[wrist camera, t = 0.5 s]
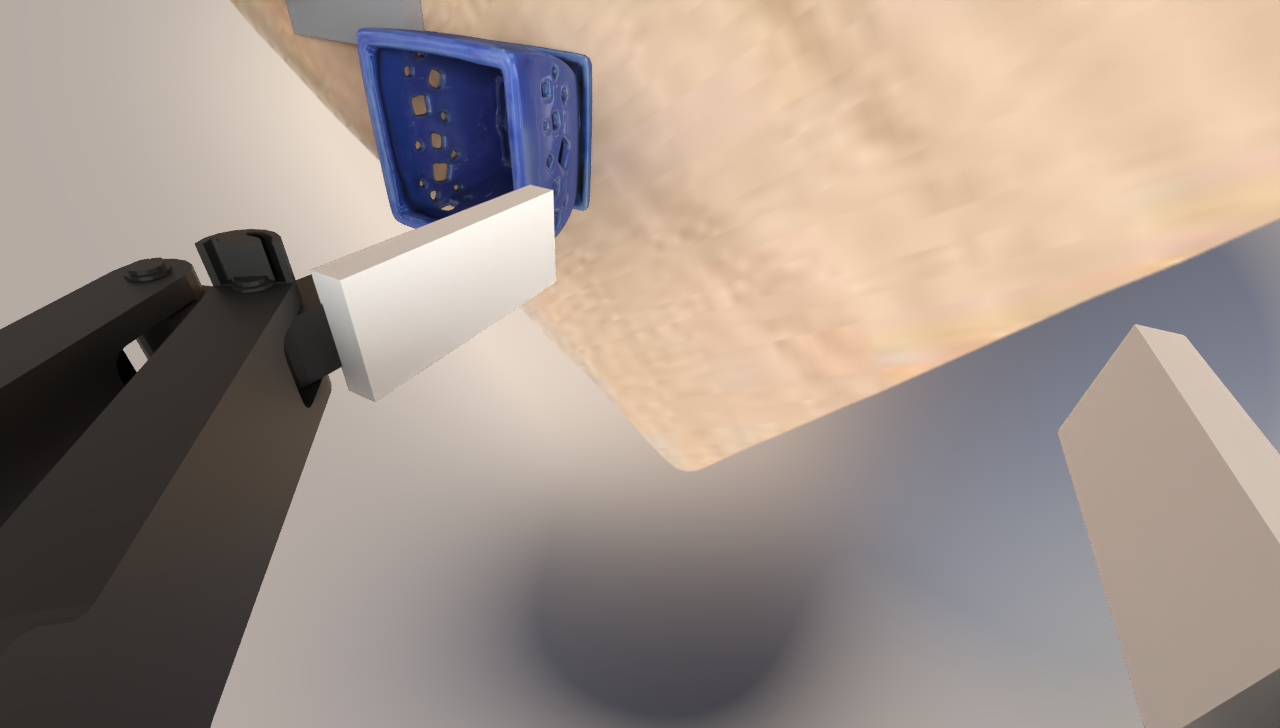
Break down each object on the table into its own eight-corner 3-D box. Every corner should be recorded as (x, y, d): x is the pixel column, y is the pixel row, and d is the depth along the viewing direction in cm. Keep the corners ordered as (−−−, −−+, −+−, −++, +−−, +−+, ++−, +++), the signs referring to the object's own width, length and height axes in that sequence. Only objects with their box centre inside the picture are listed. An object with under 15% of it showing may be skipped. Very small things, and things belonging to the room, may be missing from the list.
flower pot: (488, 190, 49) (387, 226, 40) (472, 24, 42) (344, 23, 33) (610, 219, 45) (528, 267, 36) (617, 40, 37) (516, 44, 28)
